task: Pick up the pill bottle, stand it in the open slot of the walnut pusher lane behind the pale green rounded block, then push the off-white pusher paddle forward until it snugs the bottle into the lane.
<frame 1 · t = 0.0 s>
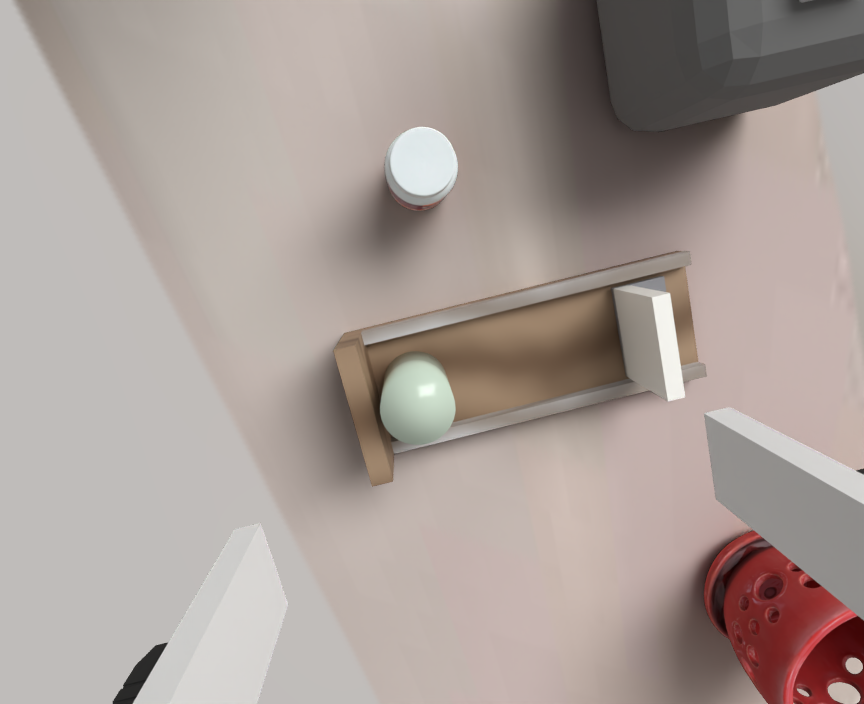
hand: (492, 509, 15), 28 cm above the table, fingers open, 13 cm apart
pale green rounded block: (415, 382, 42), point 1 cm above the table, touching lane
alarm clock: (661, 15, 39), on the table
pill bottle: (418, 178, 41), on the table
lane: (523, 352, 43), on the table
paddle: (664, 334, 39), point 5 cm above the table, slide at 0.0 cm
plant pot: (759, 577, 49), on the table
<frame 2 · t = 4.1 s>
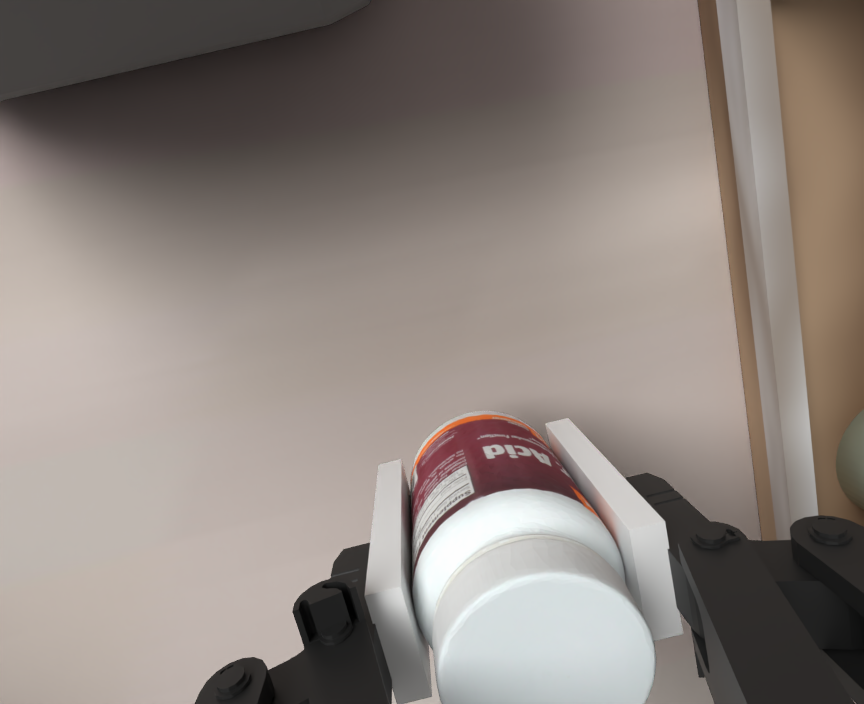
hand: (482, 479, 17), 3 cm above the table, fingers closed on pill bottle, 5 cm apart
pill bottle: (480, 472, 18), point 3 cm above the table, touching gripper
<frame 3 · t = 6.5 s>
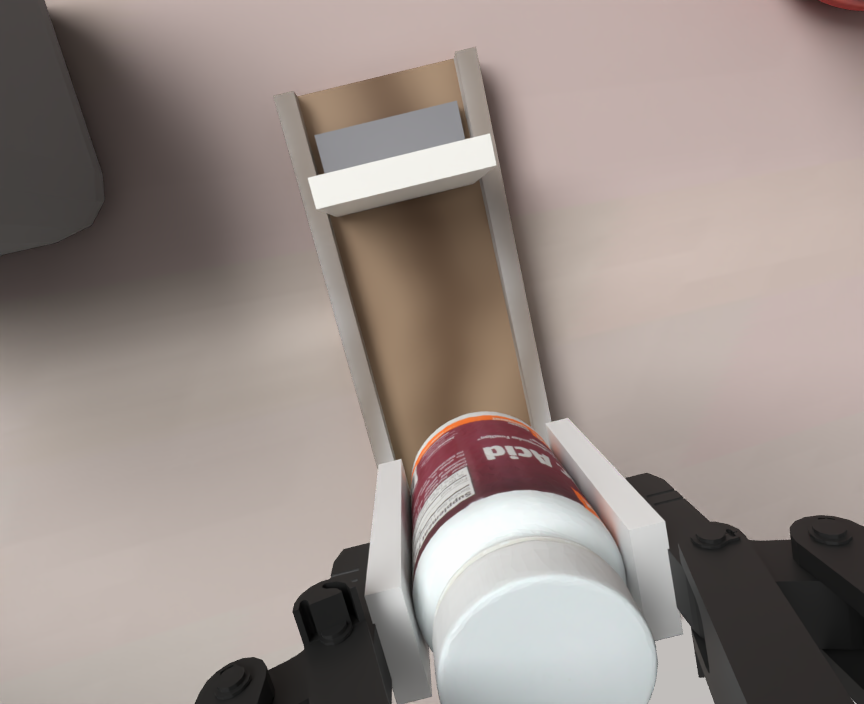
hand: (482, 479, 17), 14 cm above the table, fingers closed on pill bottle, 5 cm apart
pill bottle: (480, 473, 18), point 13 cm above the table, touching gripper
lane: (436, 333, 31), on the table
paddle: (394, 149, 24), point 5 cm above the table, slide at 0.0 cm
when the fingers open (2 cm above the table, at t = 8.8 s): pill bottle stays where it is, resting on lane.
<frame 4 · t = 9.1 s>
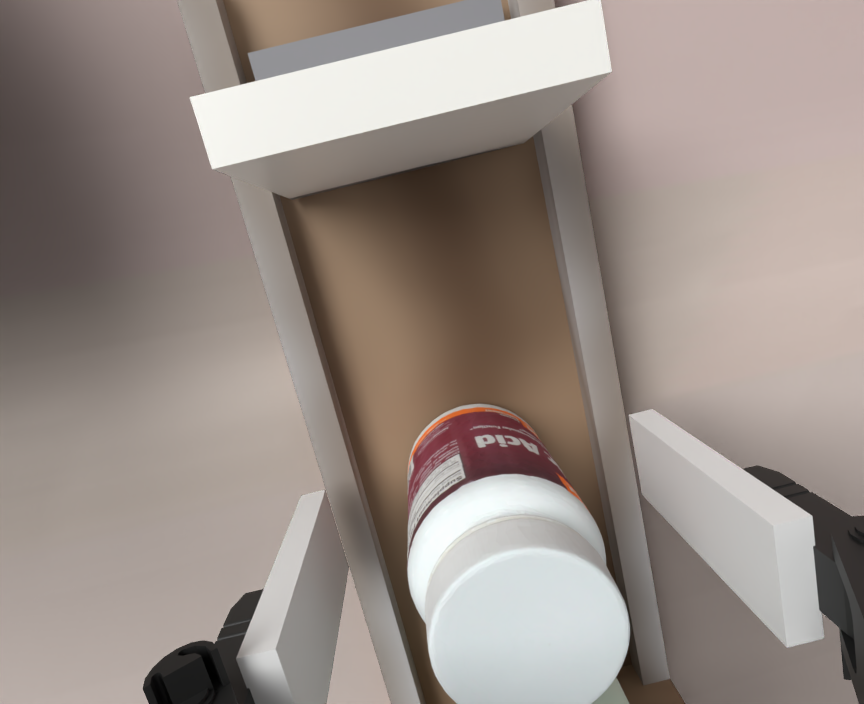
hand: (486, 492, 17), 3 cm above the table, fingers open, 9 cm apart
pale green rounded block: (514, 623, 20), point 1 cm above the table, touching lane
pill bottle: (474, 463, 19), point 1 cm above the table, touching lane
lane: (458, 389, 19), on the table
paddle: (388, 63, 12), point 5 cm above the table, slide at 0.0 cm
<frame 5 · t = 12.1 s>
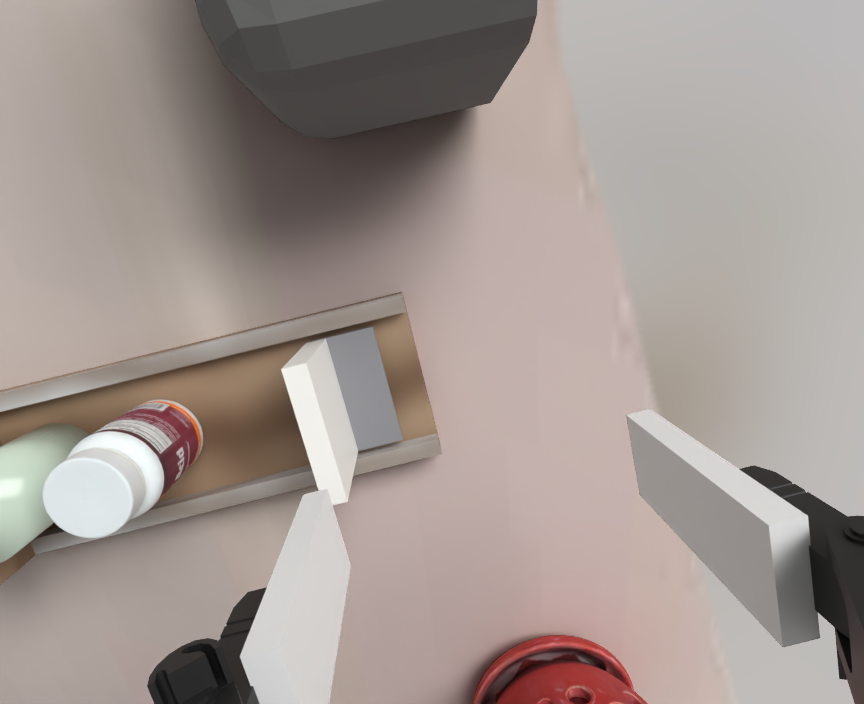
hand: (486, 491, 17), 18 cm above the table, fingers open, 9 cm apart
pale green rounded block: (62, 461, 33), point 1 cm above the table, touching lane
pill bottle: (167, 433, 33), point 1 cm above the table, touching lane
lane: (212, 420, 34), on the table
paddle: (350, 408, 29), point 5 cm above the table, slide at 0.0 cm
plant pot: (551, 691, 39), on the table
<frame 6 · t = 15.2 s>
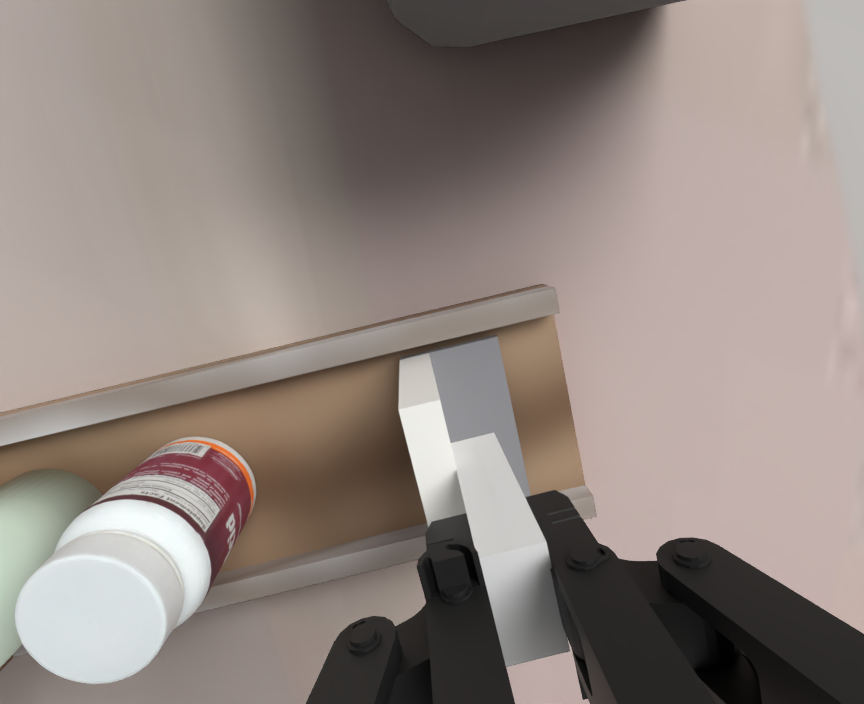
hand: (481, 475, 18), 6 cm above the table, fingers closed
pale green rounded block: (53, 523, 23), point 1 cm above the table, touching lane
pill bottle: (204, 484, 23), point 1 cm above the table, touching lane
lane: (266, 464, 24), on the table
paddle: (477, 460, 19), point 5 cm above the table, slide at 0.5 cm, touching gripper
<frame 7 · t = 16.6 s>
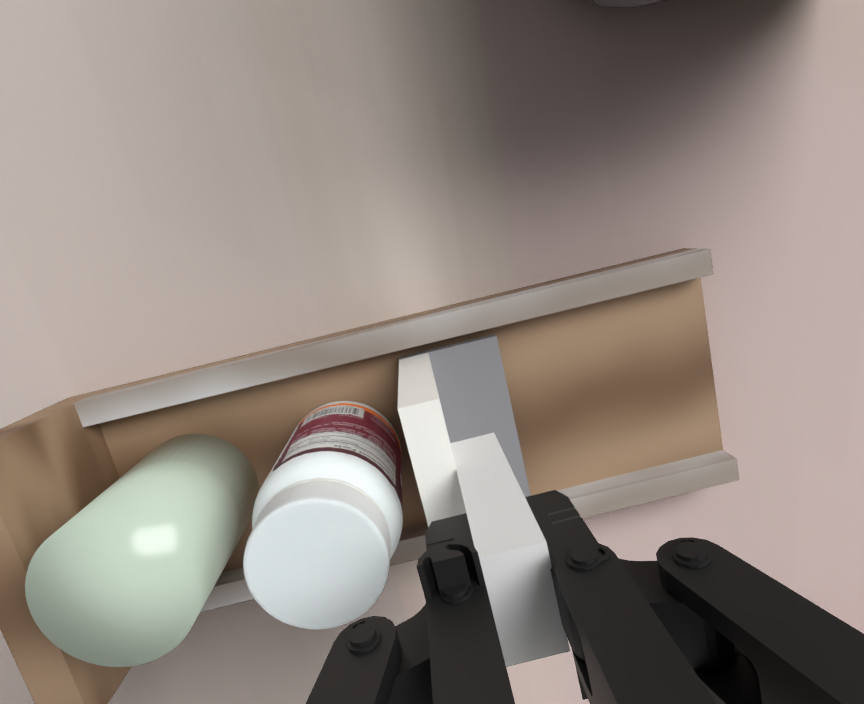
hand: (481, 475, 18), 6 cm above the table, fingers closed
pale green rounded block: (199, 489, 23), point 1 cm above the table, touching lane
pill bottle: (347, 449, 23), point 1 cm above the table, touching lane
lane: (405, 431, 24), on the table
paddle: (477, 459, 19), point 5 cm above the table, slide at 6.8 cm, touching gripper
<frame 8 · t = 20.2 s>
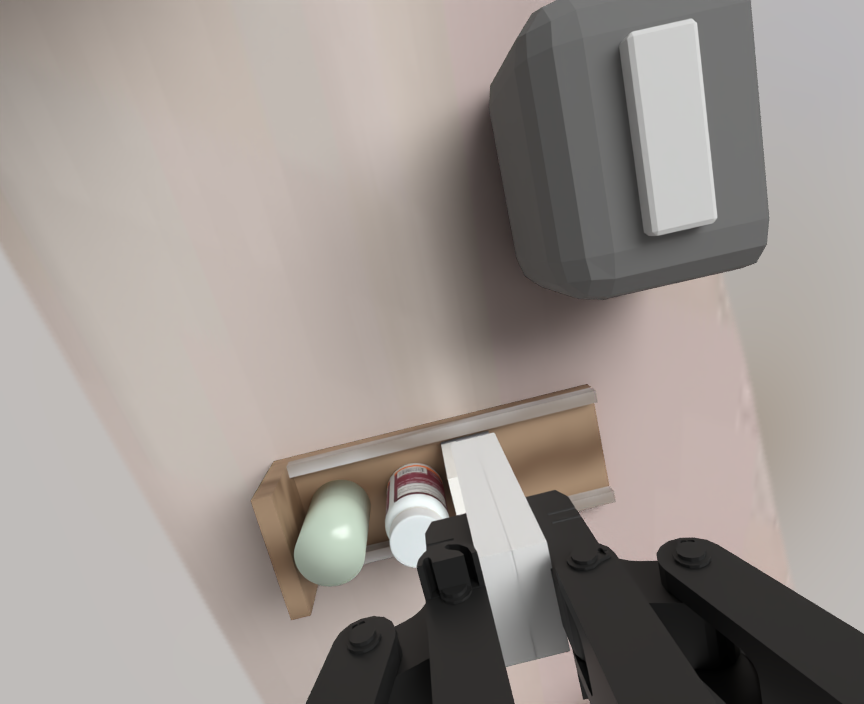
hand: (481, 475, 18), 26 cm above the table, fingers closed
pale green rounded block: (340, 507, 45), point 1 cm above the table, touching lane
alarm clock: (566, 173, 42), on the table
pill bottle: (415, 486, 45), point 1 cm above the table, touching lane
lane: (444, 476, 46), on the table
paddle: (479, 495, 41), point 5 cm above the table, slide at 7.0 cm
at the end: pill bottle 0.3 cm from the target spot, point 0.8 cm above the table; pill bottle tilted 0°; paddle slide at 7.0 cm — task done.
